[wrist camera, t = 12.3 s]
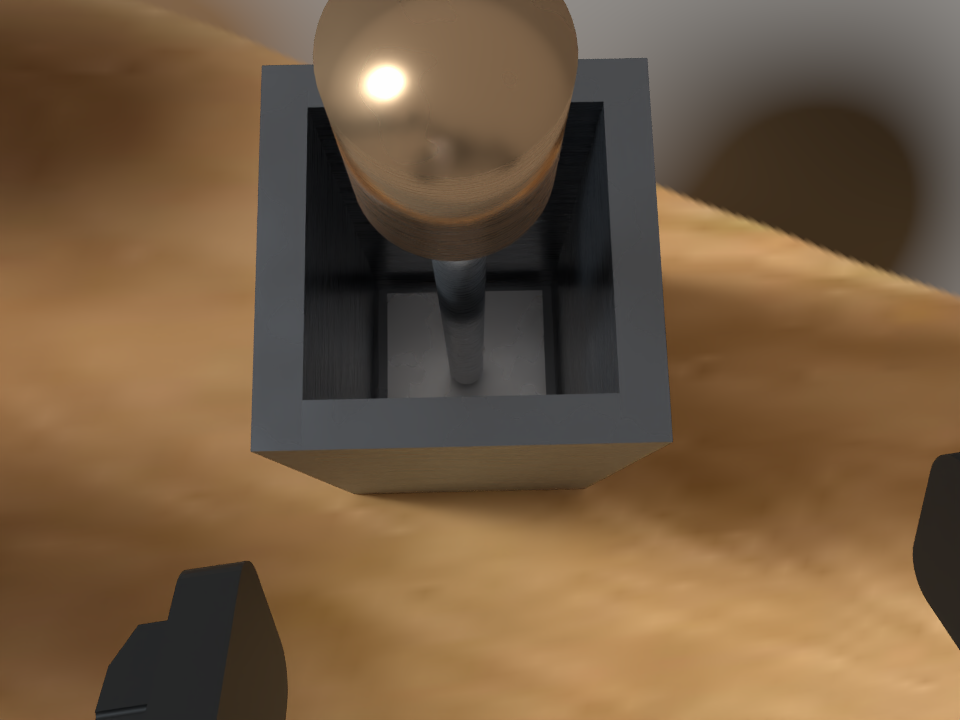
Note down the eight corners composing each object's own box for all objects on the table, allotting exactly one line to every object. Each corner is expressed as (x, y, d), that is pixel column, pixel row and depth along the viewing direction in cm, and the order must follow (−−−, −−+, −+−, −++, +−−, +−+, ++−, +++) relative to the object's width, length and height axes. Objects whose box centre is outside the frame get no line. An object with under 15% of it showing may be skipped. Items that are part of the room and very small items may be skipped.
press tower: (354, 494, 39) (250, 451, 21) (355, 272, 41) (261, 65, 23) (584, 488, 39) (672, 441, 21) (574, 268, 41) (647, 57, 23)
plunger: (390, 450, 38) (218, 266, 13) (389, 299, 39) (233, -134, 14) (546, 447, 38) (679, 256, 13) (540, 296, 39) (650, -142, 14)
